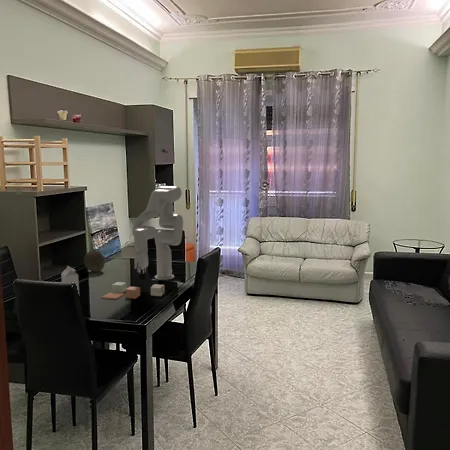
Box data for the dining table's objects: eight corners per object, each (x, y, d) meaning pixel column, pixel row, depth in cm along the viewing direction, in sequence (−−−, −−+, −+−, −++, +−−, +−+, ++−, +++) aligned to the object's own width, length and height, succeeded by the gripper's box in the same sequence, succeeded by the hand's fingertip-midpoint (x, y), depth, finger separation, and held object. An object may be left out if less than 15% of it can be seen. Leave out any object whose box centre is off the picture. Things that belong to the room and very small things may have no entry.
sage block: (117, 290, 270) (117, 281, 269) (126, 290, 269) (126, 282, 268) (112, 292, 264) (112, 284, 264) (121, 293, 263) (121, 285, 262)
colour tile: (109, 293, 262) (109, 292, 262) (123, 294, 260) (123, 293, 260) (101, 298, 253) (101, 296, 253) (116, 299, 251) (116, 298, 251)
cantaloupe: (108, 269, 320) (107, 248, 318) (101, 274, 307) (100, 252, 304) (89, 269, 322) (88, 248, 320) (80, 274, 308) (79, 252, 306)
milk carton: (66, 303, 245) (64, 269, 242) (62, 300, 250) (60, 266, 248) (79, 301, 249) (77, 267, 246) (75, 297, 255) (73, 264, 252)
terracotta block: (130, 294, 260) (130, 286, 259) (140, 295, 259) (139, 287, 258) (125, 297, 254) (125, 289, 254) (135, 298, 253) (135, 290, 252)
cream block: (154, 292, 264) (154, 284, 264) (164, 293, 263) (164, 285, 262) (150, 295, 258) (150, 287, 258) (160, 296, 257) (160, 287, 256)
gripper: (140, 246, 274) (142, 275, 277) (129, 252, 259) (131, 283, 263) (152, 246, 272) (153, 276, 275) (141, 252, 258) (143, 283, 261)
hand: (142, 279), depth 269 cm, fingers closed
